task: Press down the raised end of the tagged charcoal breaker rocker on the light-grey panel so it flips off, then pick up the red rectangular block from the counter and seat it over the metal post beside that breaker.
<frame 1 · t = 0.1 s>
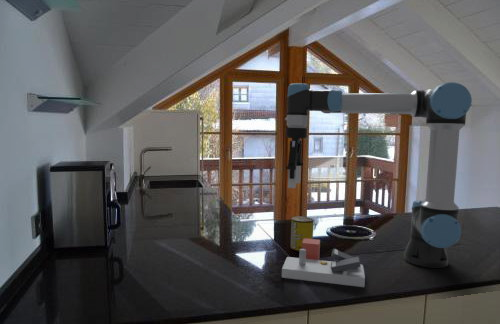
hand: (294, 185, 140), 28 cm above the worktop, tool pointing down, fingers open, 13 cm apart
red rectangular block: (310, 262, 139), on the worktop
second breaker: (345, 264, 122), point 6 cm above the worktop, hinge at 18.0°
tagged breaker: (345, 258, 128), point 6 cm above the worktop, hinge at -18.0°
panel: (322, 275, 127), on the worktop
beverage can: (301, 248, 157), on the worktop
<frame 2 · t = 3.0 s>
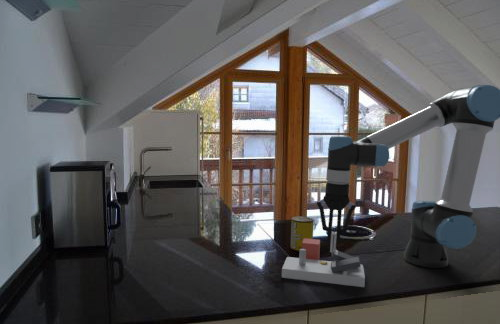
hand: (332, 251, 129), 8 cm above the worktop, tool pointing down, fingers closed
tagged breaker: (345, 258, 128), point 6 cm above the worktop, hinge at -16.2°, touching gripper
everything else where it was.
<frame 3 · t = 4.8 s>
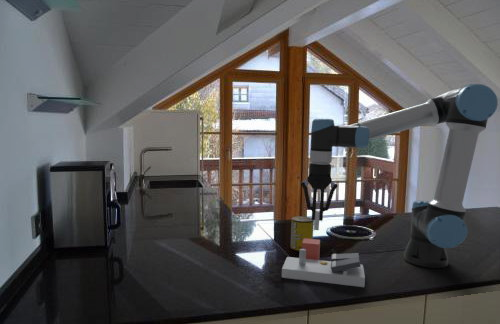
hand: (316, 229, 135), 13 cm above the worktop, tool pointing down, fingers closed
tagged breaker: (345, 258, 128), point 6 cm above the worktop, hinge at 9.2°
everything else where it was.
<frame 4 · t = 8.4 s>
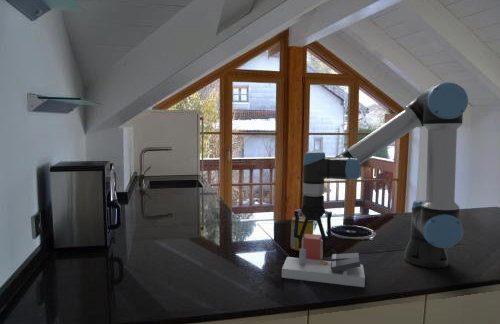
hand: (312, 257, 139), 2 cm above the worktop, tool pointing down, fingers closed on red rectangular block, 6 cm apart
red rectangular block: (311, 258, 139), point 2 cm above the worktop, touching gripper
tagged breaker: (345, 258, 128), point 6 cm above the worktop, hinge at 9.8°
everything else where it was.
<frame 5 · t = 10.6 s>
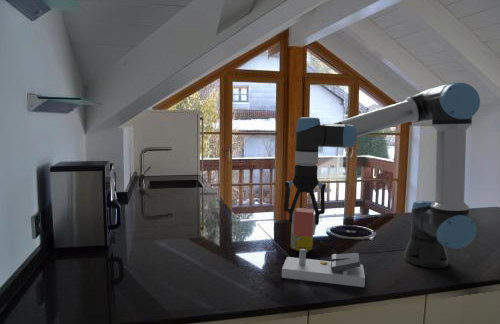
hand: (303, 232, 127), 14 cm above the worktop, tool pointing down, fingers closed on red rectangular block, 6 cm apart
red rectangular block: (303, 233, 128), point 14 cm above the worktop, touching gripper
everything else where it was.
when the fingers open (4 cm above the worktop, at t = 13.0 s): red rectangular block stays where it is, resting on panel.
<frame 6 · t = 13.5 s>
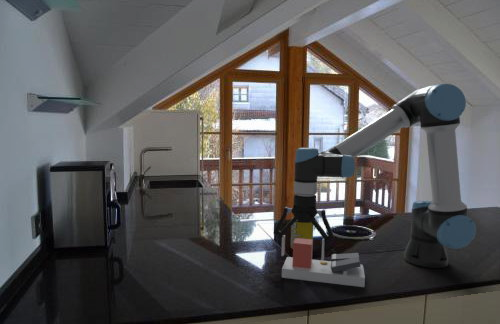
hand: (302, 256, 128), 6 cm above the worktop, tool pointing down, fingers open, 13 cm apart
red rectangular block: (302, 264, 128), point 3 cm above the worktop, touching panel
everything else where it was.
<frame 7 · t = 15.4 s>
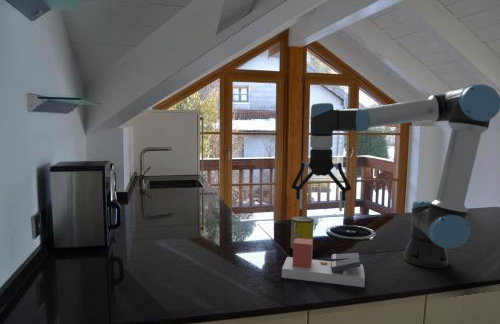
hand: (320, 209, 132), 21 cm above the worktop, tool pointing down, fingers open, 13 cm apart
nothing on the worktop moved.
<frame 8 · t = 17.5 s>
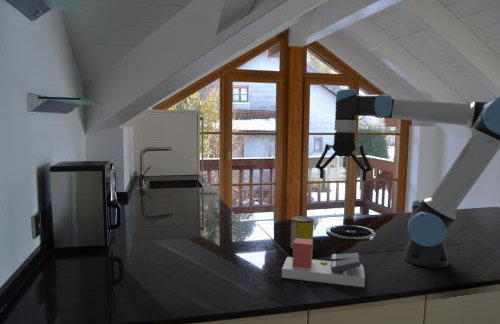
hand: (342, 188, 143), 27 cm above the worktop, tool pointing down, fingers open, 13 cm apart
nothing on the worktop moved.
at the end: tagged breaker at +10° (first picture: -18°); red rectangular block 0.0 cm from the target spot, point 3.0 cm above the worktop; the gripper is holding nothing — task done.
